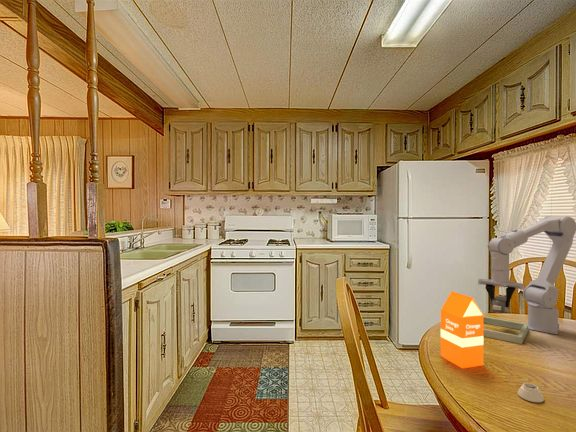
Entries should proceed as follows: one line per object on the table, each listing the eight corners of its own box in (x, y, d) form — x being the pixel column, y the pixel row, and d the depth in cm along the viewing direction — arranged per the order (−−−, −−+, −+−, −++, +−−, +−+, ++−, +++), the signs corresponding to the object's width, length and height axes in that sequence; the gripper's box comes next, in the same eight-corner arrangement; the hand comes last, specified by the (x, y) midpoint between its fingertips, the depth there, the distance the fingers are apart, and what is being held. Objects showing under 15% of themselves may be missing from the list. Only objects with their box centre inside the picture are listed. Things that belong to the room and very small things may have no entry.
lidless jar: (549, 403, 78) (532, 392, 83) (549, 391, 78) (532, 380, 83) (528, 404, 78) (512, 392, 83) (528, 391, 78) (513, 380, 83)
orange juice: (462, 368, 95) (462, 298, 95) (440, 355, 104) (440, 291, 104) (484, 365, 97) (484, 296, 97) (460, 353, 106) (461, 290, 106)
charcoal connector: (508, 307, 129) (508, 297, 129) (503, 314, 120) (503, 303, 120) (496, 305, 132) (496, 295, 132) (490, 312, 122) (490, 301, 122)
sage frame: (528, 330, 126) (528, 324, 126) (521, 344, 113) (521, 337, 113) (475, 320, 138) (475, 314, 138) (463, 332, 125) (463, 325, 125)
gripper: (476, 269, 128) (476, 304, 128) (522, 273, 119) (522, 311, 119) (480, 266, 134) (480, 300, 134) (524, 270, 124) (524, 307, 124)
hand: (500, 305), depth 126 cm, fingers closed on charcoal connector, 4 cm apart
